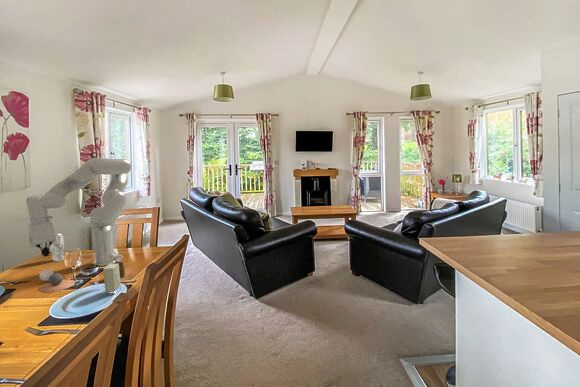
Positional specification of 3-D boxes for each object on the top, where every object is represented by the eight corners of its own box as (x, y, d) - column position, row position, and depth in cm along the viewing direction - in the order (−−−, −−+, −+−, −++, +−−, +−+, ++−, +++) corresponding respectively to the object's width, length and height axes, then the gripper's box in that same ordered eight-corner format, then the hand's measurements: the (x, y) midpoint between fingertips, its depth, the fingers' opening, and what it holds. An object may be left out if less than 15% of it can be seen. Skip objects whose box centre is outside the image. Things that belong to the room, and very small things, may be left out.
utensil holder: (122, 278, 166) (120, 255, 164) (109, 279, 165) (106, 255, 164) (127, 274, 172) (125, 251, 170) (114, 274, 171) (112, 252, 170)
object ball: (62, 274, 164) (66, 276, 161) (56, 285, 162) (60, 288, 159) (51, 270, 160) (55, 273, 157) (44, 281, 158) (48, 284, 155)
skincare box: (111, 289, 154) (109, 263, 152) (121, 288, 154) (119, 263, 153) (105, 295, 148) (102, 268, 146) (115, 294, 148) (113, 268, 146)
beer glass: (58, 262, 193) (55, 236, 190) (48, 261, 194) (45, 236, 192) (68, 258, 199) (66, 233, 197) (58, 257, 201) (56, 233, 199)
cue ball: (54, 267, 167) (57, 277, 167) (46, 269, 168) (49, 279, 168) (43, 270, 161) (46, 281, 161) (35, 272, 163) (38, 283, 163)
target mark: (79, 278, 167) (79, 278, 167) (69, 290, 154) (69, 289, 154) (47, 282, 163) (46, 281, 163) (33, 294, 150) (33, 293, 150)
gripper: (54, 216, 174) (60, 250, 177) (18, 222, 162) (25, 259, 166) (59, 218, 169) (65, 252, 172) (22, 225, 158) (30, 262, 161)
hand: (46, 255), depth 169 cm, fingers closed
